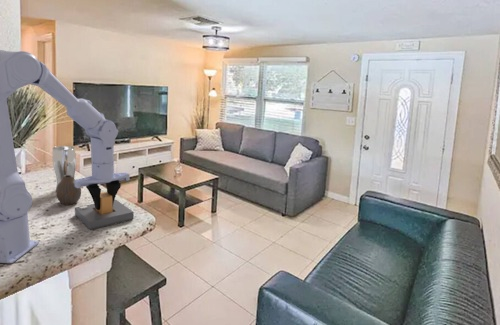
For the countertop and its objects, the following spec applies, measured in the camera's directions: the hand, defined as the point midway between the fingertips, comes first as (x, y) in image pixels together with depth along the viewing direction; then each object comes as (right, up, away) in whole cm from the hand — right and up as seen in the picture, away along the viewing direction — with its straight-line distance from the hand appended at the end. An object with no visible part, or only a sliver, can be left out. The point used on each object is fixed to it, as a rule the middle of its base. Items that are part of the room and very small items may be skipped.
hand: (104, 207), depth 95 cm
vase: (-15, 0, +9) cm, 18 cm away
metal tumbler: (-22, +3, +20) cm, 30 cm away
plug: (0, -2, 0) cm, 2 cm away
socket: (0, -3, +1) cm, 3 cm away
